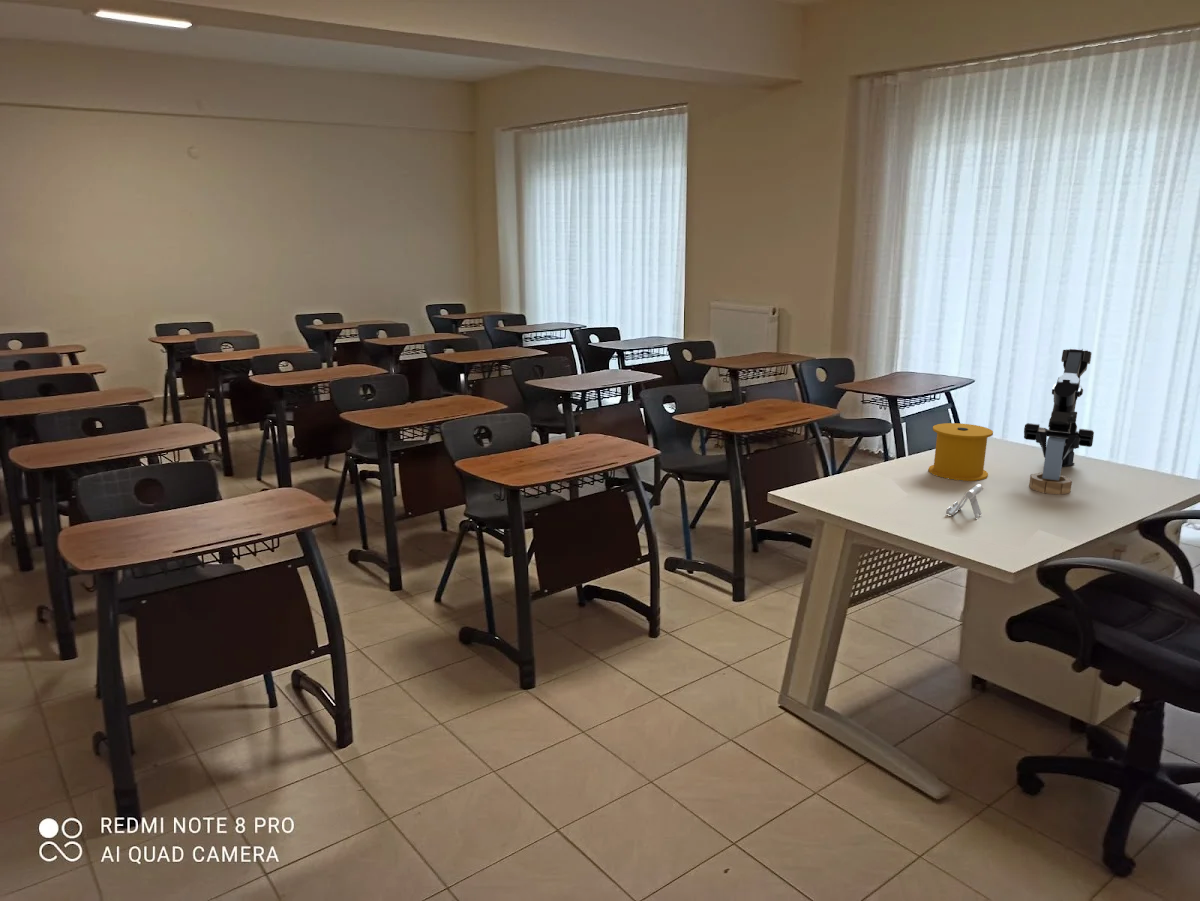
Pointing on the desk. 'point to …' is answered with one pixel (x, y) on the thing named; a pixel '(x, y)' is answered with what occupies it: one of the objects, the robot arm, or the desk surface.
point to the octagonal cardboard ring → (1050, 484)
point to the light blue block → (1053, 458)
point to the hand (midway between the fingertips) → (1053, 457)
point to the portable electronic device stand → (969, 495)
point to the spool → (960, 451)
